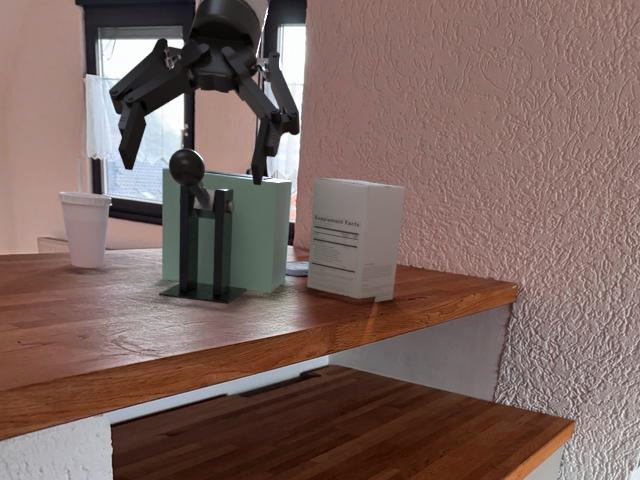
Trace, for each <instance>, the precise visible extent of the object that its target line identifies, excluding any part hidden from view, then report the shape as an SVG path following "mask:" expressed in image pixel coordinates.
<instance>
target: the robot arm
mask: <svg viewBox="0 0 640 480" xmlns="http://www.w3.org/2000/svg"><path fill="white" fill-rule="evenodd" d="M270 3H271V0H199V1H198V4H197V8H196V11H195V13H194V17H193V20H192V23H191V27H190V31H189V35H188V40H187V43H185V44H184V46H182V47H181V48H180V47H174V46H170V45H169V41H168V39H167V38H164V37H161V38H159V39H157V40H156V42H155V44H154V46H153V48H152V50H151V52H149V53H148V54H147V55H146V56H145V57H144V58H143V59H142V60H141V61H139V62H138V63H137V64H136V65H135V66H134V67H133V68H132V69H131V70H129V72H127V73H126V74H125V75H124V76H123V77H122V78H121V79H119V81H117V82H116V83H115V84H114V85H113V86H112V87H111V88H110V89H108V94H109V97H110V100H111V103H112V106H113V109H114V112H115V114H116V115H120V117H119V119H118V122H117V128H118V131H119V135H120V137H121V140H120V141H119V145H118V149H117V150H118V154H119V155H120V159H121V161H122V164H123V167H124V170H127V171H133V170H134V166H135V163H136V160H137V157H138V154H139V151H140V147H141V144H142V140H143V137H144V134H145V130H146V127H147V121H146V118H145V117H147V116H149V115H150V114H152V113H154V112H156V111H157V110H159V109H160V108H162V107H164V106H165V105H167V104H169V103H170V102H172V101H173V100H175V99H177V98H179V97H180V96H182V95H183V94H185V95H187V96H188V95H191V94H192V93H194V92H196V91H197V90H200V91H206V92H208V91H210V92H211V91H216V92H219V93H223V94H229V93H230V92H232V91H234V93H235V94H236V95H237V96H238V98H239V99H240V100H241V101H242V102H245V104H246V105H247V106H248V107H249V109H250V111H252V113H253V114H254V115H255V116H256V117H257V119H258V120H259V121H260V123H259V128H258V132H257V136H256V140H255V144H254V150H253V154H252V157H251V162H250V169H251V170H250V171H251V175H252V177H253V184H254V185H261V182H262V177H264V173H265V168H266V164H267V159H268V158H275V157H276V156H277V155H278V154H279V153H278V152H279V148H280V144H281V138H282V137H283V135H284V134H290V135H292V136H297V135H299V134H300V132H301V124H300V111H299V109H298V107H297V104H296V101H295V99H294V97H293V95H292V93H291V92H292V91H291V90H290V88H289V86H288V83H287V81H286V78H285V76H284V74H283V72H282V62H281V53H280V52H279V51H276V50H275V51H271V52H269V54H268V57H257V56H258V53H259V48H260V44H261V40H262V36H263V32H264V28H265V24H266V20H267V15H268V10H269V7H270V6H269V5H270ZM258 72H259V73H261V74H262V77H263V79H265V82H266V83H269V85H270V86H269V87H270V90H271V93H272V95H273V97H274V99H275V103H276V104H277V106H278V107H277V106H275V105H274V103H273V101H271V99H269V97H268V96H267V95H266V94H265V92H264V91H263V90H262V88H261V87H260V86H259V84H258V83H257V82H256V81H255V80H254V78H253V77H255V76H256V75H257V73H258ZM189 77H190V79H189Z"/></svg>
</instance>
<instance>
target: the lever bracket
mask: <svg viewBox="0 0 640 480" xmlns="http://www.w3.org/2000/svg"><path fill="white" fill-rule="evenodd" d="M194 200H195V195H194V193H193V191H192V190H191V188H190V187H185V186H181V185H180V252H179V281H178V283H177V284H175V285H173V286H171V287H169V288H167V289H165V290H163V291H160V292H159V293H158V296H160V297H170V298H178V299H186V300H193V301H200V302H201V301H202V302H208V303H209V302H210V303H217V304H226V305H229V304H230V303H232V302H233V301H234V300H235V299H237V298H239V297H240V296H241V295H242V294H244V293H245V292H247V291H248V290H247V289H245V288H237V287H230V269H231V242H232V216H233V212H234V201H233V189H227V188H224V189H216V201H215V236H214V270H213V284H205V283H197V281H198V233H199V216H198V215H197V213H196V211H195V210H194V208H193V207H194Z"/></svg>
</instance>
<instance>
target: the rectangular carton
mask: <svg viewBox="0 0 640 480" xmlns="http://www.w3.org/2000/svg"><path fill="white" fill-rule="evenodd" d="M405 195H406V187H405V186H399V185H391V184H384V183H376V182H372V181H365V180H358V179H357V180H356V179H345V178H329V177H327V178H325V177H315V178H314V185H313V200H312V212H311V213H312V214H311V225H310V241H309V251H308V252H309V253H308V261H309V266H308V275H307V280H306V282H307V283H306V287H307V288H310V289H314V290H318V291H323V292H327V293H331V294H335V295H341V296H344V297H349V298H353V299H366V298H367V299H368V298H374V301H373V303H379V302H387V301H393V298H394V290H395V281H396V275H397V273H396V272H397V267H398V266H397V263H398V256H399V248H400V239H401V231H402V229H401V228H402V220H403V213H404V204H405V203H404V202H405Z"/></svg>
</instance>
